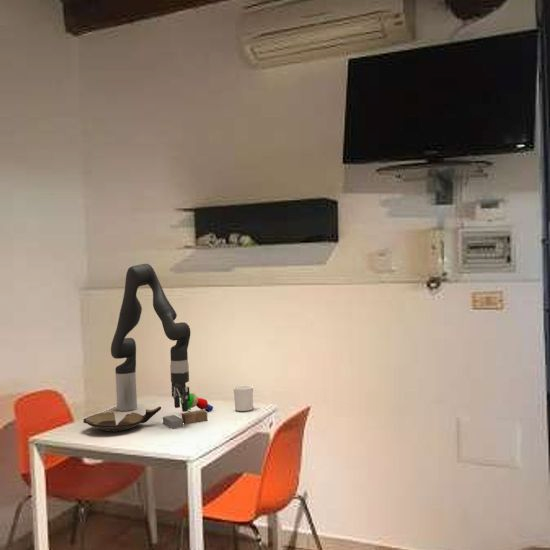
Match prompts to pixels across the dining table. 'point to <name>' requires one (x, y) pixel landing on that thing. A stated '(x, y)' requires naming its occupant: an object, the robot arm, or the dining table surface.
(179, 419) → the hammer head
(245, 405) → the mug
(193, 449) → the dining table surface
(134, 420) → the oil lamp
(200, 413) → the block
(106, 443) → the dining table surface
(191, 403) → the toy
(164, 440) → the dining table surface
